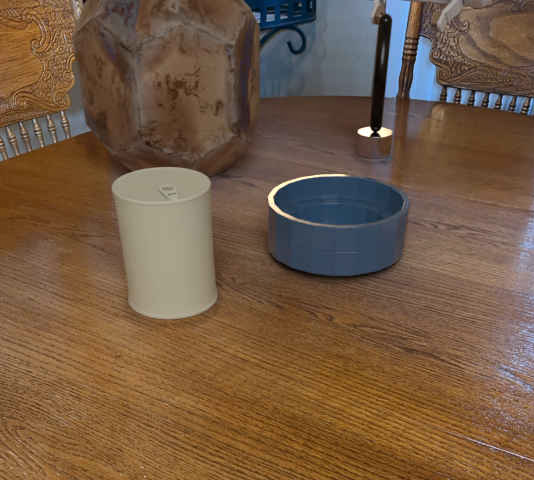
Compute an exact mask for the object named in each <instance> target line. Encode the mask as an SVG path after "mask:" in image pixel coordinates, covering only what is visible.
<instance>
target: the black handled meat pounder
mask: <svg viewBox="0 0 534 480" xmlns="http://www.w3.org/2000/svg"><path fill="white" fill-rule="evenodd" d="M392 27H393V18H392V16H391V15H390V14H389V13H386V14H383V15H382V16H381V17H380V19H379V25H377V37H376V38H377V39H376V50H375V60H374V70H373V71H374V72H373V73H374V74H373V83H372V95H371V105H370V106H371V108H370V120H369V126H366V127H362V128H359V129H358V130H357V135H356V147H355V148H356V149H355V154H356V155H357V156H359V157H361V158H365V159H369V160H371V159H373V160H376V159H379V160H380V159H385V158H388V157H389V156H391V154H392V153H391V152H392V145H393V144H392V143H393V137H394V136H393V135H394V132H393V130H391V129H389V128H387V127H383V120H384V111H385V100H386V99H385V98H386V88H387V78H388V71H389V70H388V69H389V68H388V67H389V58H390V48H391V40H392V39H391V38H392Z"/></svg>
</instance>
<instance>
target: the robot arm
mask: <svg viewBox="0 0 534 480" xmlns="http://www.w3.org/2000/svg"><path fill="white" fill-rule="evenodd" d="M402 1H404V2H405V1H406V2H414V3H424V4H435V5H444V6H445V7H444V8H443V9H442V10H441V11H435V12H434V14H433V16H432V17H433V18H432V19H431V21H430V28H431V32H434V33H442V34H443V33H444V30H445V28H446V26H447V24H448V23H449V22H451V20H453V19H454V18H455V17H456V16H458V14H460V13H461V11H462V8H463V7H464V8H473V9H484V8H486V7H487V6H488V5H489V4H491V3H492V2H493V0H402ZM387 2H388V0H373V6H374V7H373V9H372V12H371V14H370V21H371V24H372V25H375V26H378V25H379V19H380V17H381V16H382V15H383V14H387V11H386V8H385V6H383V5H385V4H386V3H387Z"/></svg>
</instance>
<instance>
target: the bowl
mask: <svg viewBox="0 0 534 480" xmlns="http://www.w3.org/2000/svg"><path fill="white" fill-rule="evenodd" d="M266 200H267V201H266V202H267V204H266V206H267V209H266V211H267V212H266V213H267V214H266V215H267V216H266V218H267V219H266V220H267V221H266V223H267V227H266V228H267V230H266V232H267V233H266V235H267V237H266V238H267V249H268V252H269V253H270V254H271V256H272V257H273V258H274V259H275V260H277V262H280V263H282V264H284V265H285V266H287V267H289V268H291V269H295V270H298V271H302V272H305V273H308V274H312V275H318V276H324V277H353V276H361V275H365V274H369V273H370V274H371V273H374V272H379V271H381V270H384V269H386V268H388V267H391V266H393V265H394V264H395V263H396V262H397V261H399V260H400V259H401V258H402V257H403V254H404V251H405V249H406V248H405V246H406V240H407V232H408V225H409V217H410V210H411V200H410V198H409V196H408V194H407V192H405V191H404V190H403V189H401V188H399V187H398V186H397V185H395V184H391V183H390V182H386V181H384V180H380V179H377V178H371V177H367V176H362V175H354V174H344V173H343V174H342V173H341V174H340V173H337V174H336V173H334V174H333V173H331V174H330V173H329V174H316V175H309V176H308V175H307V176H301V177H297V178H295V179H294V178H293V179H291V180H287V181H285V182H284V181H283V182H282V183H281V184H279V185H277V186H275V187H274V188H272V190H271V191H270V192H269V193H268V195H267V197H266Z"/></svg>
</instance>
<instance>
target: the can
mask: <svg viewBox="0 0 534 480" xmlns="http://www.w3.org/2000/svg"><path fill="white" fill-rule="evenodd" d="M211 188H212V182H211V179H210V177H207V176H206V175H204V174H203V173H201V172H198V171H195V170H191V169H186V168H178V167H156V168H147V169H142V170H137V171H133V172H132V171H131V172H127V173H125V174H122V175H121V176H119V177H118V178H116V179H115V180H114V182H113V183H112V185H111V192H112V196H113V200H114V206H115V212H116V219H117V225H118V231H119V238H120V244H121V245H120V246H121V251H122V258H123V263H124V264H123V265H124V271H125V278H126V279H125V280H126V286H127V303H128V305H129V307H130V308H131V309H132V310H133V311H134V312H135V313H137V314H138V315H141V316H143V317H146V318H151V319H156V320H182V319H188V318H191V317H195V316H197V315H200V314H203V313H205V312H206V311H208V310H209V309H211V308H212V307H214V305H215V304H216V302H217V300H218V298H219V291H218V288H217V281H216V269H215V268H216V267H215V254H214V253H215V252H214V237H213V236H214V235H213V219H212V218H213V217H212V216H213V215H212V195H211V193H212V191H211Z"/></svg>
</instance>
